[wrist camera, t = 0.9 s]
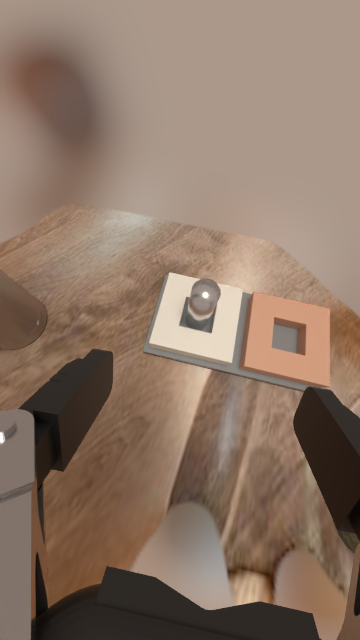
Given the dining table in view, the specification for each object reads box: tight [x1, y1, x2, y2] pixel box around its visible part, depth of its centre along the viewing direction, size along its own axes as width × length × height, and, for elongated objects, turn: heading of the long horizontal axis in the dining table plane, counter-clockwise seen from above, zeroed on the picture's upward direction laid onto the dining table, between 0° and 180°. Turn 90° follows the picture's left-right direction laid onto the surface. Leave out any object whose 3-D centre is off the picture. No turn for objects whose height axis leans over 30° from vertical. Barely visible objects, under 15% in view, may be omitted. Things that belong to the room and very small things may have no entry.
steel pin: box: [186, 279, 221, 330], centre depth 32 cm, size 4×4×10 cm
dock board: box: [143, 273, 330, 391], centre depth 36 cm, size 28×14×4 cm, turn 77°
